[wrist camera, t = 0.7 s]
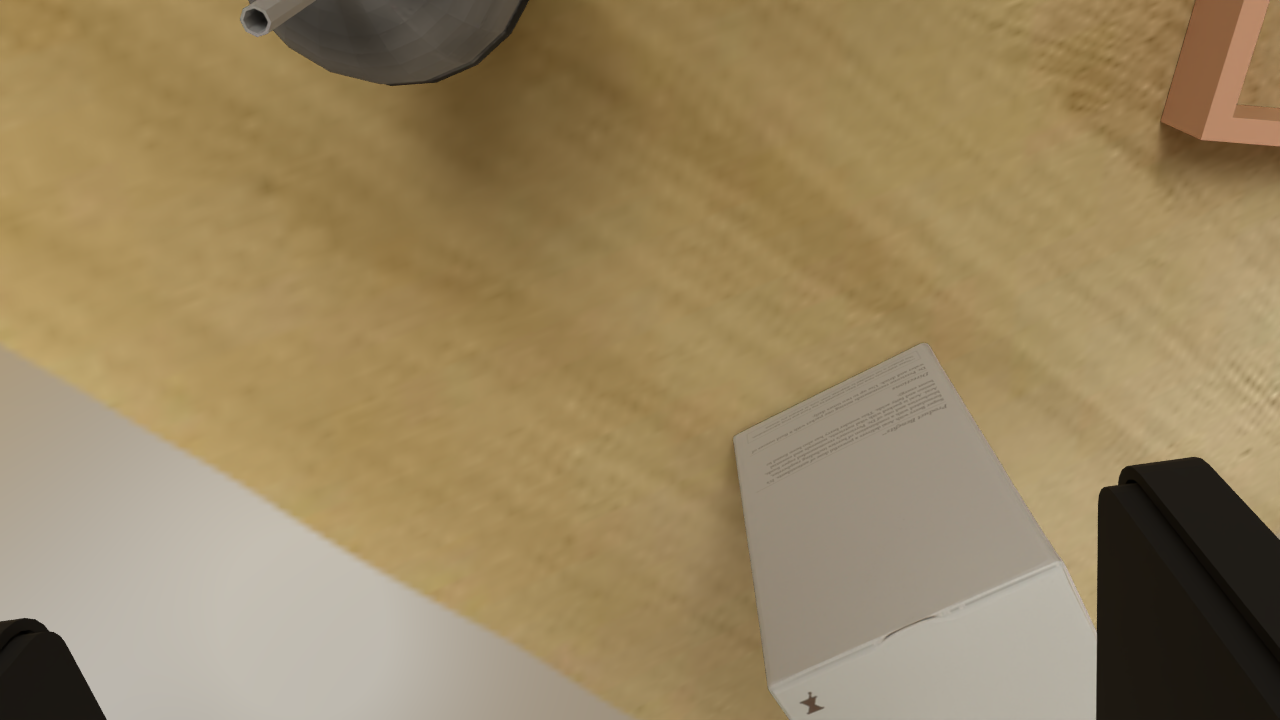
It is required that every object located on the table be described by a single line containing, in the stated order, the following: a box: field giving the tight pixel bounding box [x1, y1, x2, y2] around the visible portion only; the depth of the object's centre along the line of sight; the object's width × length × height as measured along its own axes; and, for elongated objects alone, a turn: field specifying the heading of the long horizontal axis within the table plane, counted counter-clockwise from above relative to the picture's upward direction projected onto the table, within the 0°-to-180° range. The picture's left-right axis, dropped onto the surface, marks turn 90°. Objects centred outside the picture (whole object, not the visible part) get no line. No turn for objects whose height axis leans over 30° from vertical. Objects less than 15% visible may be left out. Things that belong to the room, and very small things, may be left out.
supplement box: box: [733, 343, 1097, 720], centre depth 36 cm, size 9×9×15 cm
